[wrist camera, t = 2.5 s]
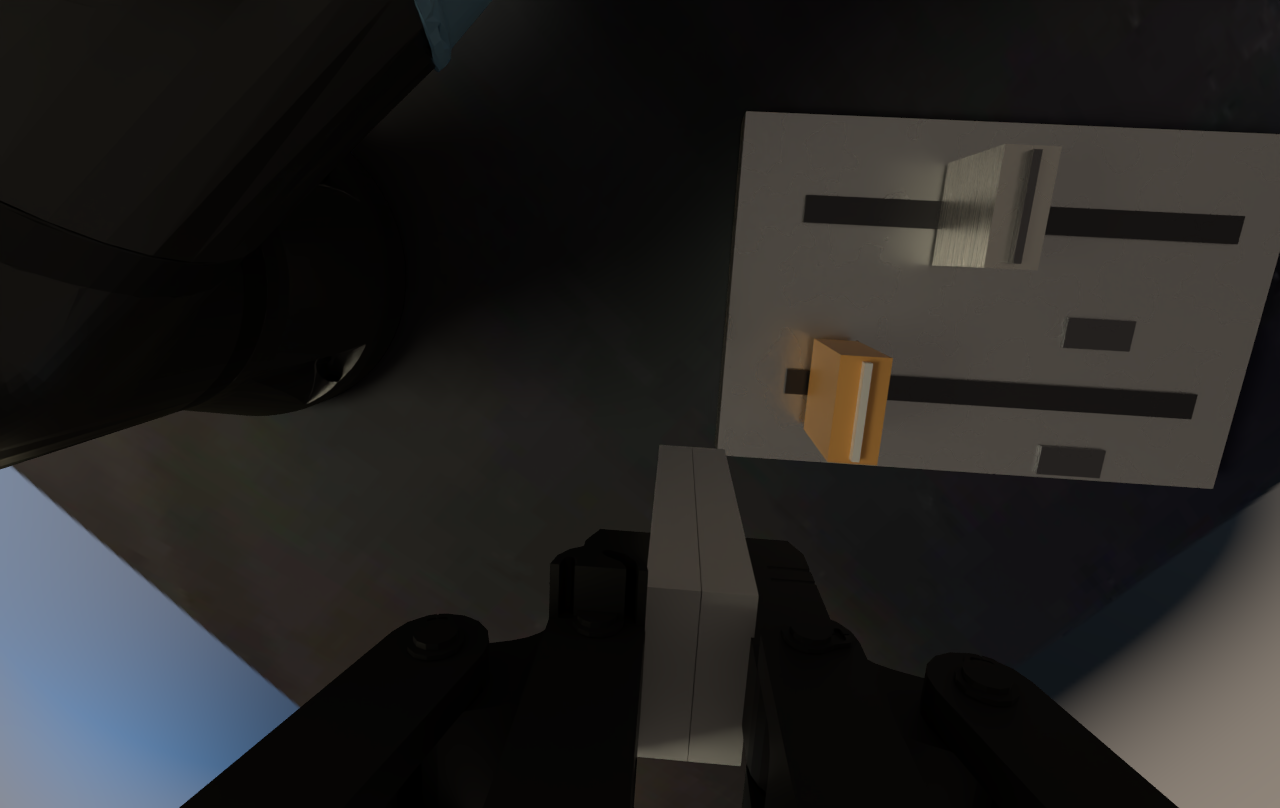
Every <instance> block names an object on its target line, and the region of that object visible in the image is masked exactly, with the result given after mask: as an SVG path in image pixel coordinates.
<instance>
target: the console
mask: <svg viewBox="0 0 1280 808" xmlns="http://www.w3.org/2000/svg"><path fill="white" fill-rule="evenodd" d="M1279 252H1280V134H1262V133H1238V132H1215V131H1192V130H1169V129H1146V128H1123V127H1099V126H1076V125H1053V124H1030V123H1007V122H984V121H960V120H937V119H914V118H891V117H868V116H845V115H821V114H798V113H775V112H752V111H746V112H745V115H744V117H743V119H742V122H741V134H740V146H739V158H738V170H737V182H736V194H735V206H734V218H733V230H732V242H731V254H730V266H729V278H728V290H727V302H726V314H725V326H724V338H723V349H722V361H721V373H720V385H719V397H718V409H717V421H716V433H715V448H716V449H724V450H725V454H726V456H740V457H754V458H769V459H784V460H798V461H813V462H827V461H826V460H825V458H824V457H823V455H822V454H821V453H820V451H819V450H818V448H817V447H816V446H815V444H814V443H813V442H812V440H811V439H810V437H809V436H808V435H807V433H806V432H805V430H804V421H805V412H806V404H807V395H808V386H809V378H810V369H811V361H812V352H813V344H814V338H815V339H832V340H848V341H858V342H861V343H863V344H865V345H867V346H869V347H871V348H873V349H875V350H877V351H879V352H881V353H883V354H885V355H888V356H890V357H892V358H893V361H892V368H891V375H890V382H889V389H888V395H887V402H886V409H885V416H884V422H883V429H882V436H881V443H880V449H879V456H878V463H877V465H872V466H886V467H901V468H916V469H930V470H945V471H960V472H974V473H989V474H1004V475H1018V476H1033V477H1048V478H1062V479H1077V480H1092V481H1106V482H1121V483H1136V484H1150V485H1165V486H1180V487H1194V488H1209V489H1213V486H1214V483H1215V479H1216V476H1217V472H1218V469H1219V465H1220V462H1221V458H1222V454H1223V451H1224V447H1225V444H1226V440H1227V437H1228V433H1229V430H1230V426H1231V422H1232V419H1233V415H1234V412H1235V408H1236V405H1237V401H1238V398H1239V394H1240V391H1241V387H1242V383H1243V380H1244V376H1245V373H1246V369H1247V366H1248V362H1249V359H1250V355H1251V351H1252V348H1253V344H1254V341H1255V337H1256V334H1257V330H1258V327H1259V323H1260V320H1261V316H1262V312H1263V309H1264V305H1265V302H1266V298H1267V295H1268V291H1269V288H1270V284H1271V280H1272V277H1273V273H1274V270H1275V266H1276V263H1277V259H1278V256H1279ZM828 463H834V462H828ZM842 464H848V463H842ZM857 465H863V464H857Z"/></svg>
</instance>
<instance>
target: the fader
mask: <svg viewBox="0 0 1280 808" xmlns="http://www.w3.org/2000/svg"><path fill="white" fill-rule="evenodd" d="M892 361H893V358H892V357H890V356H888V355H885V354H883V353H881V352H879V351H877V350H875V349H873V348H871V347H869V346H867V345H865V344H863V343H861V342H858V341H848V340H832V339H815V338H814V344H813V352H812V361H811V369H810V378H809V386H808V395H807V404H806V412H805V421H804V430H805V432H806V433H807V435H808V436H809V437H810V439H811V440H812V442H813V443H814V444H815V446H816V447H817V448H818V450H819V451H820V453H821V454H822V455H823V457H824V458H825V460H826V461H827V462H834V463H848V464H863V465H877V463H878V456H879V449H880V443H881V436H882V429H883V422H884V416H885V409H886V402H887V395H888V389H889V382H890V375H891V368H892Z"/></svg>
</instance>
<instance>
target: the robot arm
mask: <svg viewBox="0 0 1280 808" xmlns="http://www.w3.org/2000/svg"><path fill="white" fill-rule="evenodd" d="M491 1H492V0H0V469H3V468H6V467H9V466H12V465H15V464H18V463H21V462H24V461H27V460H31V459H34V458H37V457H40V456H43V455H46V454H49V453H52V452H55V451H58V450H61V449H65V448H68V447H71V446H74V445H77V444H80V443H83V442H86V441H89V440H92V439H95V438H99V437H102V436H105V435H108V434H111V433H114V432H117V431H120V430H123V429H126V428H129V427H133V426H136V425H139V424H142V423H145V422H148V421H151V420H154V419H157V418H160V417H163V416H166V415H169V414H172V413H175V412H178V411H182V410H186V411H198V412H210V413H222V414H234V415H246V416H269V415H277V414H285V413H289V412H294V411H298V410H301V409H305V408H307V407H310V406H313V405H315V404H318V403H320V402H323V401H325V400H327V399H330V398H332V397H335V396H337V395H339V394H341V393H343V392H344V391H346V390H348V389H349V388H351V387H352V386H354V385H355V384H357V383H358V382H359V381H360V380H362V379H363V378H364V377H365V376H366V375H367V374H368V373H369V372H370V371H371V370H372V369H373V368H374V367H375V366H376V364H377V363H378V362H379V361H380V359H381V358H382V357H383V355H384V354H385V352H386V350H387V349H388V347H389V345H390V343H391V341H392V339H393V337H394V335H395V332H396V330H397V327H398V324H399V321H400V318H401V314H402V310H403V305H404V298H405V287H406V270H405V259H404V252H403V247H402V242H401V238H400V235H399V231H398V228H397V225H396V222H395V219H394V217H393V214H392V212H391V210H390V208H389V205H388V204H387V202H386V200H385V198H384V196H383V194H382V193H381V191H380V189H379V188H378V186H377V184H376V183H375V182H374V180H373V179H372V177H371V176H370V175H369V173H368V172H367V171H366V170H365V168H364V167H363V166H362V165H361V164H360V163H359V162H358V160H357V159H356V158H355V157H354V156H353V155H352V154H351V153H350V151H351V150H352V149H353V148H354V147H355V146H356V145H357V144H358V143H359V142H360V141H361V140H362V139H363V138H364V137H365V136H366V135H367V134H368V133H369V132H370V131H371V130H372V129H373V128H374V127H375V126H376V125H377V124H378V123H379V122H380V121H381V120H382V119H383V118H384V117H385V116H386V115H387V114H388V113H389V112H390V111H391V110H392V109H393V108H394V107H395V106H396V105H397V104H398V103H399V102H400V101H401V100H402V99H403V98H404V97H405V96H407V95H408V94H409V93H410V92H411V91H412V90H413V89H414V88H415V87H416V86H417V85H418V84H419V83H420V82H421V81H422V80H423V79H424V78H425V77H426V76H427V75H428V74H429V73H430V72H431V71H432V70H433V69H435V71H437V72H440V70H442V69H443V68H444V67H445V66H447V64H448V63H449V61H450V60H451V49H452V48H453V46H454V45H455V44H456V43H457V42H458V41H459V39H460V38H461V37H462V36H463V35H464V33H465V32H466V31H467V30H468V29H469V27H470V26H471V25H472V24H473V23H474V21H475V20H476V19H477V18H478V17H479V16H480V14H481V13H482V12H483V11H484V10H485V8H486V7H487V6H488V5H489V4H490V2H491ZM743 739H744V747H745V754H746V762H747V765H746V774H745V784H744V793H743V802H742V808H1178V807H1177V806H1176V805H1175V804H1174V803H1173V802H1171V801H1170V800H1169V799H1168V798H1167V797H1166V796H1164V795H1163V794H1162V793H1161V792H1160V791H1159V790H1157V789H1156V788H1155V787H1154V786H1153V785H1152V784H1150V783H1149V782H1148V781H1147V780H1146V779H1145V778H1143V777H1142V776H1141V775H1140V774H1139V773H1138V772H1136V771H1135V770H1134V769H1133V768H1132V767H1130V766H1129V765H1128V764H1127V763H1126V762H1125V761H1124V760H1122V759H1121V758H1120V757H1119V756H1118V755H1117V754H1115V753H1114V752H1113V751H1112V750H1111V749H1110V748H1108V747H1107V746H1106V745H1105V744H1104V743H1102V742H1101V741H1100V740H1099V739H1098V738H1097V737H1096V736H1094V735H1093V734H1092V733H1091V732H1090V731H1088V730H1087V729H1086V728H1085V727H1084V726H1083V725H1082V724H1080V723H1079V722H1078V721H1077V720H1076V719H1075V718H1073V717H1072V716H1071V715H1070V714H1069V713H1068V712H1066V711H1065V710H1064V709H1063V708H1062V707H1061V706H1059V705H1058V704H1057V703H1056V702H1055V701H1054V700H1052V699H1051V698H1050V697H1049V696H1048V695H1046V694H1045V693H1044V692H1043V691H1042V690H1041V689H1039V688H1038V687H1037V686H1036V685H1035V684H1034V683H1033V682H1031V681H1030V680H1028V679H1027V678H1026V677H1024V676H1022V675H1021V674H1020V673H1018V672H1017V671H1015V670H1014V669H1012V668H1010V667H1008V666H1005V665H1003V664H1001V663H999V662H997V661H995V660H993V659H991V658H988V657H984V656H982V657H981V656H979V655H976V654H970V653H951V652H950V653H946V654H941V655H937V656H935V657H934V658H933V659H932V660H931V661H930V662H929V663H928V664H927V667H926V673H925V678H921V677H917V676H914V675H910V674H907V673H903V672H899V671H896V670H892V669H889V668H886V667H884V666H881V665H878V664H875V663H873V662H871V661H869V660H867V658H866V656H865V653H864V651H863V649H862V647H861V645H860V643H859V641H858V640H857V639H856V638H855V636H854V635H853V634H852V632H851V631H849V630H848V629H846V628H845V627H843V626H842V625H840V624H839V623H837V622H835V621H833V620H830V617H829V615H828V613H827V610H826V608H825V605H824V603H823V601H822V598H821V596H820V593H819V591H818V589H817V586H816V585H815V581H814V579H813V577H812V574H811V572H809V567H808V564H807V562H806V560H805V557H804V555H803V554H802V553H801V552H800V551H799V550H797V549H796V548H795V547H794V546H792V545H791V544H790V543H789V542H788V541H780V540H767V539H753V538H745V535H744V531H743V526H742V522H741V518H740V514H739V509H738V505H737V501H736V497H735V492H734V488H733V484H732V479H731V475H730V471H729V467H728V462H727V458H726V454H725V450H724V449H713V448H698V447H684V446H669V445H660V446H659V456H658V466H657V476H656V485H655V495H654V505H653V515H652V524H651V533H645V532H632V531H619V530H605V529H600V530H599V531H597V532H596V533H595V534H593V535H592V536H591V537H589V538H588V539H587V540H586V541H585V544H584V546H582V547H577V548H573V549H569V550H567V551H565V552H563V553H561V554H559V555H557V556H556V558H555V559H554V560H553V561H552V562H551V563H550V603H549V620H548V623H547V626H546V629H545V630H544V631H542V632H540V633H538V634H535V635H533V636H530V637H527V638H522V639H517V640H512V641H504V642H496V643H489V638H488V630H487V629H486V628H485V627H484V626H483V625H482V624H481V623H480V622H479V621H477V620H474V619H472V618H469V617H467V616H463V615H453V614H439V615H437V614H434V615H428V616H425V617H422V618H419V619H416V620H413V621H410V622H407V623H406V624H404V625H402V626H401V627H399V628H397V629H396V630H394V631H392V632H391V633H390V634H389V635H387V636H386V637H385V638H384V639H383V640H381V641H380V642H379V643H378V644H377V645H375V646H374V647H373V648H372V649H371V650H369V651H368V652H367V653H366V654H364V655H363V656H362V657H361V658H360V659H358V660H357V661H356V662H355V663H354V664H352V665H351V666H350V667H349V668H348V669H346V670H345V671H344V672H343V673H342V674H340V675H339V676H338V677H337V678H335V679H334V680H333V681H332V682H331V683H329V684H328V685H327V686H326V687H325V688H323V689H322V690H321V691H320V692H319V693H317V694H316V695H315V696H314V697H313V698H311V699H310V700H309V701H308V702H306V703H305V704H304V705H303V706H302V707H300V708H299V709H298V710H297V711H296V712H294V713H293V714H292V715H291V716H290V717H288V718H287V719H286V720H285V721H284V722H282V723H281V724H280V725H279V726H278V727H276V728H275V729H274V730H273V731H272V732H270V733H269V734H268V735H267V736H265V737H264V738H263V739H262V740H261V741H259V742H258V743H257V744H256V745H255V746H253V747H252V748H251V749H250V750H249V751H247V752H246V753H245V754H244V755H242V756H241V757H240V758H239V759H238V760H236V761H235V762H234V763H233V764H232V765H230V766H229V767H228V768H227V769H226V770H224V771H223V772H222V773H221V774H219V775H218V776H217V777H216V778H215V779H213V781H211V782H210V783H209V784H207V785H206V786H205V787H204V788H203V789H201V790H200V791H199V792H198V793H197V794H195V795H194V796H193V797H192V798H190V799H189V800H188V801H187V802H186V803H184V804H183V805H182V806H181V807H180V808H634V796H635V783H636V766H637V757H647V758H658V759H669V760H680V761H687V756H688V761H691V762H702V763H713V764H723V765H734V766H741V757H742V748H743Z"/></svg>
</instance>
